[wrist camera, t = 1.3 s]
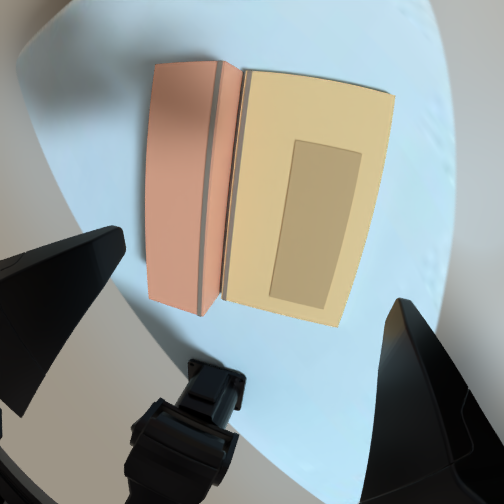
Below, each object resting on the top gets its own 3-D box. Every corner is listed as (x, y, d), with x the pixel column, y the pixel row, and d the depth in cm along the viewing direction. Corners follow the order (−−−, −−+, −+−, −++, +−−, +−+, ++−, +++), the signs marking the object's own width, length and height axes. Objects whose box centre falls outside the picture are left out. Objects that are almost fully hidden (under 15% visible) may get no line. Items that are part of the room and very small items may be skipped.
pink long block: (219, 294, 25) (202, 317, 22) (169, 279, 26) (148, 299, 23) (243, 72, 17) (224, 60, 14) (180, 71, 18) (154, 64, 15)
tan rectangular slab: (337, 323, 23) (337, 328, 22) (223, 295, 25) (220, 299, 24) (393, 96, 15) (395, 95, 15) (248, 72, 17) (245, 70, 16)
